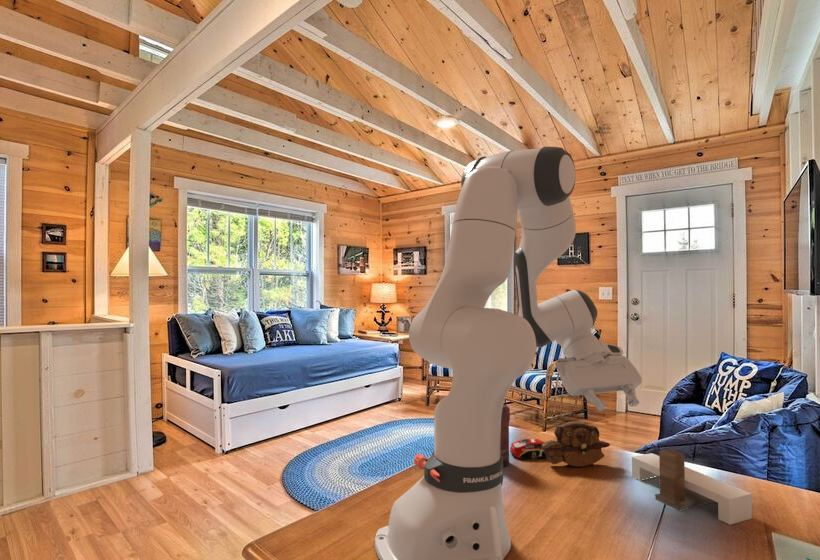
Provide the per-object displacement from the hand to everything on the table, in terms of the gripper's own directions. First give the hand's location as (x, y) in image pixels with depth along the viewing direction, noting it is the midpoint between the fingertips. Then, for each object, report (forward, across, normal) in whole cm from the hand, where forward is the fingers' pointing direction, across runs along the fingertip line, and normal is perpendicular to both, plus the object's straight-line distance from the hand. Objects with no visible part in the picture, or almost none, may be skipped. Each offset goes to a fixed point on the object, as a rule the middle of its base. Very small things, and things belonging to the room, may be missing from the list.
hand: (619, 407), depth 98 cm
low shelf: (+19, +6, +3) cm, 20 cm away
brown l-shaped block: (+20, +4, +2) cm, 21 cm away
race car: (-1, -9, +24) cm, 26 cm away
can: (-1, -21, +23) cm, 31 cm away
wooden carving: (+5, -4, +17) cm, 19 cm away
